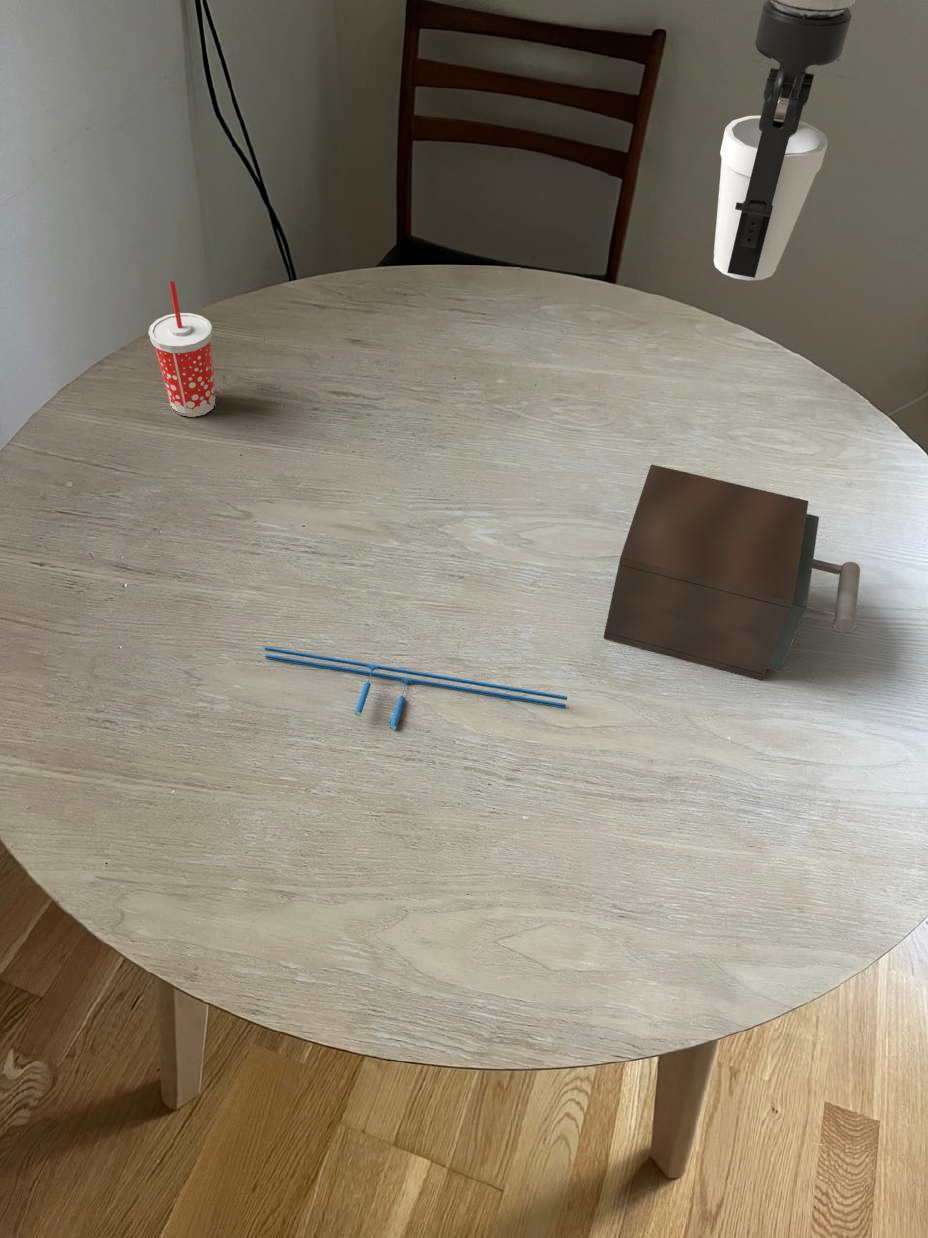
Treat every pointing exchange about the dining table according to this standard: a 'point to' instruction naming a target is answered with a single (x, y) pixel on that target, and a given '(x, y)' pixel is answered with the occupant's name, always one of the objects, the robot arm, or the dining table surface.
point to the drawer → (845, 593)
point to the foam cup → (789, 195)
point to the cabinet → (707, 571)
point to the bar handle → (410, 681)
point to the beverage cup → (185, 358)
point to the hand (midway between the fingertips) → (748, 250)
